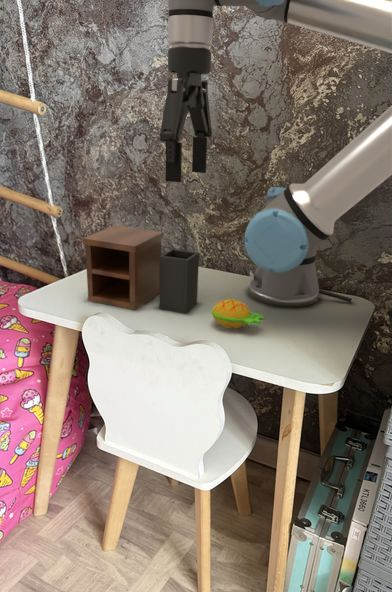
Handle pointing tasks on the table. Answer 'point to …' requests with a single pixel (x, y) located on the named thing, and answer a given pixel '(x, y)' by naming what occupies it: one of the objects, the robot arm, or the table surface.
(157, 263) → the shelf
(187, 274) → the black upright box
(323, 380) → the table surface
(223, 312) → the orange toy pineapple
